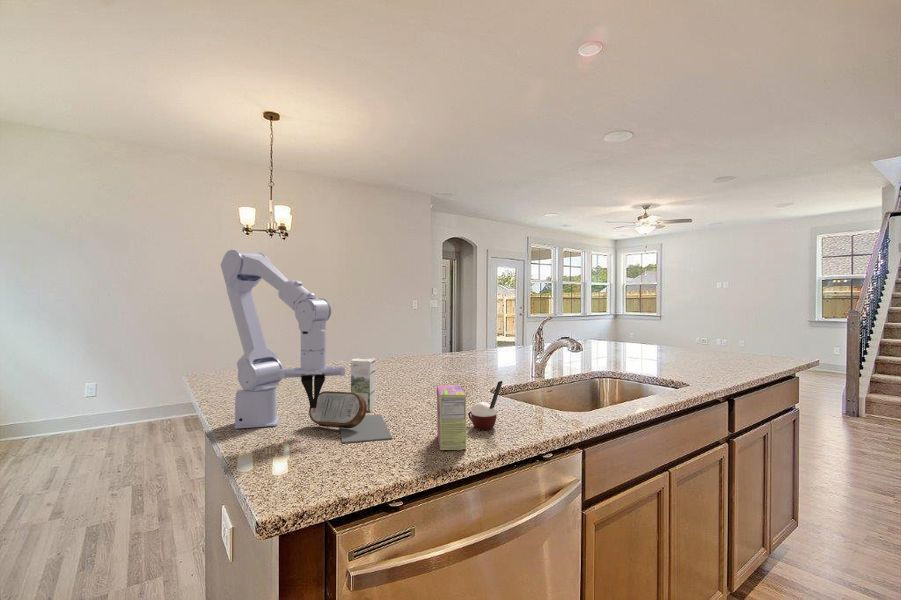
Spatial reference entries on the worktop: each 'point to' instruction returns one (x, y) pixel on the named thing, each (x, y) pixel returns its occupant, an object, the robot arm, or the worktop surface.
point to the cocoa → (485, 412)
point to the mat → (366, 430)
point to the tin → (338, 409)
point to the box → (451, 417)
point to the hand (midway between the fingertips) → (313, 407)
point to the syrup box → (364, 380)
